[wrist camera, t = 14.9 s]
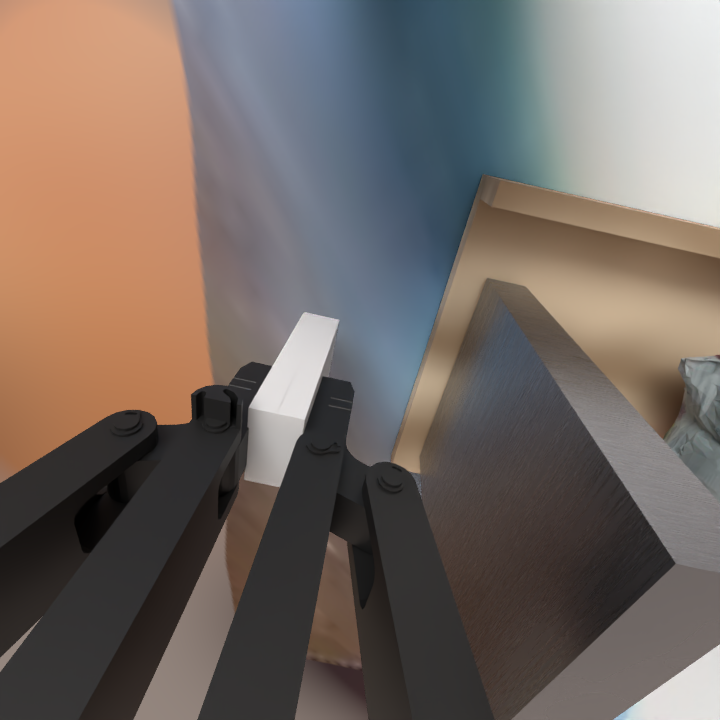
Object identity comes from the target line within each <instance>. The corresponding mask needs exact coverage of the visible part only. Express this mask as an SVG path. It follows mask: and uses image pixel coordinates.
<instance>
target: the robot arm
mask: <svg viewBox="0 0 720 720" xmlns="http://www.w3.org/2000/svg"><path fill="white" fill-rule="evenodd" d="M338 325H339V320H338V319H333V318H329V317H324V316H319V315H315V314H310V313H306V312H304V313H303V315H302V316H301V318H300V320H299V321H298V323H297V325H296V327H295V328H294V330H293V332H292V333H291V335H290V337H289V339H288V340H287V342H286V344H285V346H284V347H283V349H282V351H281V352H280V354H279V356H278V358H277V359H276V361H275V363H274V365H273V366H269V365H264V364H260V363H255V362H251V363H249V364H247V365H245V366H243V367H242V368H240V370H239V371H238V372H237V374H236V375H235V377H234V378H233V379H232V381H231V382H230V384H229V386H223V385H212V386H206V387H203V388H200V389H198V390H196V391H195V392H194V393H192V394H191V403H192V420H191V421H190V422H189V423H187V424H179V425H157V422H156V419H155V417H154V416H153V415H151V414H150V413H148V412H145V411H141V410H126V411H121V412H117V413H114V414H112V415H110V416H108V417H106V418H104V419H103V420H101V421H99V422H98V423H96V424H95V425H93V426H91V427H90V428H88V429H86V430H85V431H83V432H82V433H80V434H78V435H77V436H75V437H74V438H72V439H71V440H69V441H67V442H66V443H64V444H62V445H61V446H59V447H58V448H56V449H55V450H53V451H51V452H50V453H48V454H46V455H45V456H43V457H42V458H40V459H38V460H37V461H35V462H34V463H32V464H30V465H29V466H28V467H26V468H24V469H22V470H21V471H19V472H18V473H16V474H14V475H13V476H11V477H10V478H8V479H7V480H5V481H3V482H2V483H0V657H1V656H2V655H3V654H4V653H5V652H6V651H7V650H8V649H9V648H10V647H11V646H13V644H15V643H16V641H18V640H19V639H20V638H21V637H22V636H23V635H24V634H25V633H26V632H27V631H28V630H29V629H30V628H31V627H32V626H33V625H34V624H35V623H36V622H37V621H38V620H39V619H40V618H41V617H42V616H43V617H42V618H41V619H40V621H39V622H38V623H37V625H36V626H35V627H34V628H33V630H32V631H31V632H30V634H29V635H28V636H27V638H26V639H25V640H24V642H23V643H22V644H21V646H20V647H19V648H18V650H17V651H16V652H15V653H14V655H13V656H12V657H11V659H10V660H9V662H8V663H7V664H6V666H5V667H4V668H3V669H2V671H1V672H0V720H133V719H134V717H135V715H136V712H137V711H138V708H139V706H140V704H141V702H142V700H143V698H144V695H145V693H146V691H147V689H148V687H149V685H150V682H151V680H152V678H153V676H154V674H155V672H156V669H157V667H158V665H159V663H160V661H161V659H162V656H163V654H164V652H165V650H166V648H167V646H168V643H169V641H170V639H171V637H172V635H173V633H174V631H175V628H176V626H177V624H178V622H179V620H180V617H181V615H182V613H183V611H184V609H185V607H186V605H187V602H188V600H189V598H190V596H191V594H192V591H193V589H194V587H195V585H196V583H197V581H198V579H199V577H200V574H201V572H202V570H203V568H204V566H205V563H206V561H207V559H208V557H209V555H210V553H211V551H212V548H213V546H214V544H215V542H216V540H217V538H218V535H219V533H220V531H221V529H222V527H223V525H224V522H225V520H226V518H227V516H228V514H229V512H230V510H231V507H232V505H233V503H234V501H235V499H236V497H237V494H238V489H239V480H240V477H241V475H242V473H243V471H244V469H245V474H244V480H248V481H253V482H257V483H262V484H267V485H272V486H276V487H280V489H279V492H278V494H277V497H276V500H275V503H274V506H273V508H272V511H271V514H270V517H269V520H268V523H267V525H266V528H265V531H264V534H263V537H262V539H261V542H260V545H259V548H258V551H257V553H256V556H255V559H254V562H253V565H252V568H251V570H250V573H249V576H248V579H247V582H246V584H245V587H244V590H243V593H242V596H241V599H240V601H239V604H238V607H237V610H236V613H235V615H234V618H233V621H232V624H231V627H230V629H229V632H228V635H227V638H226V641H225V644H224V647H223V649H222V652H221V655H220V658H219V660H218V663H217V666H216V669H215V672H214V675H213V678H212V680H211V683H210V686H209V689H208V691H207V694H206V697H205V700H204V703H203V705H202V708H201V711H200V714H199V717H198V720H294V719H295V713H296V708H297V703H298V697H299V692H300V687H301V682H302V676H303V671H304V665H305V660H306V655H307V649H308V644H309V639H310V633H311V628H312V623H313V617H314V612H315V606H316V601H317V596H318V590H319V585H320V579H321V574H322V569H323V563H324V558H325V553H326V547H327V542H328V536H329V531H330V532H332V533H333V534H335V535H337V536H339V537H340V538H342V539H344V540H346V541H347V542H348V543H347V546H348V554H349V562H350V570H351V579H352V587H353V595H354V603H355V612H356V620H357V628H358V636H359V645H360V653H361V661H362V670H363V677H364V686H365V694H366V703H367V711H368V719H369V720H495V719H494V716H493V713H492V710H491V707H490V704H489V701H488V698H487V695H486V692H485V689H484V686H483V683H482V680H481V677H480V674H479V671H478V668H477V665H476V662H475V659H474V656H473V653H472V650H471V647H470V644H469V641H468V638H467V635H466V632H465V629H464V626H463V623H462V620H461V617H460V614H459V611H458V608H457V605H456V602H455V599H454V596H453V593H452V590H451V587H450V584H449V581H448V578H447V575H446V572H445V569H444V566H443V563H442V560H441V557H440V554H439V551H438V548H437V545H436V542H435V539H434V536H433V533H432V530H431V527H430V524H429V521H428V518H427V515H426V512H425V509H424V506H423V503H422V500H421V497H420V494H419V491H418V488H417V485H416V482H415V480H414V478H413V476H412V475H411V474H410V473H409V472H408V471H407V470H406V469H405V468H403V467H401V466H399V465H397V464H395V463H390V462H381V463H376V464H375V465H373V466H371V467H369V466H367V465H365V464H363V463H361V462H360V461H358V460H356V459H355V458H354V457H353V456H352V455H351V454H350V452H349V451H348V449H347V446H346V435H347V430H348V424H349V419H350V414H351V408H352V403H353V397H354V389H353V387H352V385H351V383H350V382H347V381H342V380H338V379H333V378H329V374H330V368H331V363H332V358H333V352H334V347H335V342H336V336H337V331H338Z"/></svg>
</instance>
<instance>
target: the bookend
mask: <svg viewBox="0 0 720 720" xmlns="http://www.w3.org/2000/svg"><path fill="white" fill-rule="evenodd" d="M419 458H420V474H421V490H422V503H423V506H424V509H425V512H426V515H427V518H428V521H429V524H430V527H431V530H432V533H433V536H434V539H435V542H436V545H437V548H438V551H439V554H440V557H441V560H442V563H443V566H444V569H445V572H446V575H447V578H448V581H449V584H450V587H451V590H452V593H453V596H454V599H455V602H456V605H457V608H458V611H459V614H460V617H461V620H462V623H463V626H464V629H465V632H466V635H467V638H468V641H469V644H470V647H471V650H472V653H473V656H474V659H475V662H476V665H477V668H478V671H479V674H480V677H481V680H482V683H483V686H484V689H485V692H486V695H487V698H488V701H489V704H490V707H491V710H492V713H493V716H494V719H495V720H613V719H614V718H616V717H617V716H619V715H620V714H621V713H623V712H624V711H626V710H627V709H628V708H630V707H631V706H633V705H634V704H636V703H637V702H638V701H640V700H641V699H643V698H644V697H645V696H647V695H648V694H650V693H651V692H653V691H654V690H655V689H657V688H658V687H660V686H661V685H662V684H664V683H665V682H667V681H668V680H670V679H671V678H672V677H674V676H675V675H677V674H678V673H679V672H681V671H682V670H684V669H685V668H687V667H688V666H689V665H691V664H692V663H694V662H695V661H696V660H698V659H699V658H701V657H702V656H704V655H705V654H706V653H708V652H709V651H711V650H712V649H713V648H715V647H716V646H718V645H719V644H720V503H719V502H718V501H717V499H716V498H715V497H714V496H713V495H712V494H711V493H710V492H709V490H708V489H707V488H706V487H705V486H704V485H703V484H702V483H701V482H700V480H699V479H698V478H697V477H696V476H695V475H694V474H693V473H692V471H691V470H690V469H689V468H688V467H687V466H686V465H685V464H684V463H683V461H682V460H681V459H680V458H679V457H678V456H677V455H676V454H675V453H674V451H673V450H672V449H671V448H670V447H669V446H668V445H667V444H666V442H665V441H664V440H663V439H662V438H661V437H660V436H659V435H658V434H657V432H656V431H655V430H654V429H653V428H652V427H651V426H650V425H649V423H648V422H647V421H646V420H645V419H644V418H643V417H642V416H641V415H640V413H639V412H638V411H637V410H636V409H635V408H634V407H633V406H632V405H631V403H630V402H629V401H628V400H627V399H626V398H625V397H624V396H623V394H622V393H621V392H620V391H619V390H618V389H617V388H616V387H615V386H614V384H613V383H612V382H611V381H610V380H609V379H608V378H607V377H606V376H605V374H604V373H603V372H602V371H601V370H600V369H599V368H598V367H597V365H596V364H595V363H594V362H593V361H592V360H591V359H590V358H589V357H588V355H587V354H586V353H585V352H584V351H583V350H582V349H581V348H580V346H579V345H578V344H577V343H576V342H575V341H574V340H573V339H572V338H571V336H570V335H569V334H568V333H567V332H566V331H565V330H564V329H563V328H562V326H561V325H560V324H559V323H558V322H557V321H556V320H555V319H554V317H553V316H552V315H551V314H550V313H549V312H548V311H547V310H546V309H545V307H544V306H543V305H542V304H541V303H540V302H539V301H538V300H537V298H536V297H535V296H534V295H533V294H532V293H531V292H530V291H529V290H528V288H527V287H526V286H522V285H517V284H513V283H508V282H504V281H499V280H495V279H490V278H487V279H486V282H485V284H484V287H483V290H482V292H481V295H480V298H479V300H478V303H477V306H476V308H475V311H474V313H473V316H472V319H471V321H470V324H469V327H468V329H467V332H466V335H465V337H464V340H463V343H462V345H461V348H460V351H459V353H458V356H457V358H456V361H455V364H454V366H453V369H452V372H451V374H450V377H449V380H448V382H447V385H446V388H445V390H444V393H443V395H442V398H441V401H440V403H439V406H438V409H437V411H436V414H435V417H434V419H433V422H432V425H431V427H430V430H429V433H428V435H427V438H426V440H425V443H424V446H423V448H422V451H421V454H420V456H419Z"/></svg>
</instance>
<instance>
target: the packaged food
mask: <svg viewBox="0 0 720 720" xmlns="http://www.w3.org/2000/svg"><path fill="white" fill-rule="evenodd" d="M678 370H679V372H680V374H681V376H682V378H683V380H684V382H685V386H686V388H685V387H684V391H685V392H684V396H683V402H682V405H681V409H680V412H679V415H678V417H677V419H676V421H675V423H674V424H673V426H672V427H671V428H670V429H669V430H668V431H667V432H666V434H665V436H664V438H663V440H664V441H665V442H666V444H667V445H668V446H669V447H670V448H671V449H672V450H673V451H674V453H675V454H676V455H677V456H678V457H679V458H680V459H681V460H682V461H683V463H684V464H685V465H686V466H687V467H688V468H689V469H690V470H691V471H692V473H693V474H694V475H695V476H696V477H697V478H698V479H699V480H700V482H701V483H702V484H703V485H704V486H705V487H706V488H707V489H708V490H709V492H710V493H711V494H712V495H713V496H714V497H715V498H716V499H717V501H718V502H719V503H720V355H715V356H705V357H687V358H682V359H681V361H680V364H679V367H678Z"/></svg>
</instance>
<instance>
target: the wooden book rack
mask: <svg viewBox="0 0 720 720" xmlns="http://www.w3.org/2000/svg"><path fill="white" fill-rule="evenodd" d="M487 278H490V279H495V280H499V281H504V282H508V283H513V284H517V285H522V286H526V287H527V288H528V290H529V291H530V292H531V293H532V294H533V295H534V296H535V297H536V298H537V300H538V301H539V302H540V303H541V304H542V305H543V306H544V307H545V309H546V310H547V311H548V312H549V313H550V314H551V315H552V316H553V317H554V319H555V320H556V321H557V322H558V323H559V324H560V325H561V326H562V328H563V329H564V330H565V331H566V332H567V333H568V334H569V335H570V336H571V338H572V339H573V340H574V341H575V342H576V343H577V344H578V345H579V346H580V348H581V349H582V350H583V351H584V352H585V353H586V354H587V355H588V357H589V358H590V359H591V360H592V361H593V362H594V363H595V364H596V365H597V367H598V368H599V369H600V370H601V371H602V372H603V373H604V374H605V376H606V377H607V378H608V379H609V380H610V381H611V382H612V383H613V384H614V386H615V387H616V388H617V389H618V390H619V391H620V392H621V393H622V394H623V396H624V397H625V398H626V399H627V400H628V401H629V402H630V403H631V405H632V406H633V407H634V408H635V409H636V410H637V411H638V412H639V413H640V415H641V416H642V417H643V418H644V419H645V420H646V421H647V422H648V423H649V425H650V426H651V427H652V428H653V429H654V430H655V431H656V432H657V434H658V435H659V436H660V437H661V438H662V439H663V438H664V436H665V434H666V432H667V431H668V430H669V429H670V428H671V427H672V426H673V424H674V423H675V421H676V419H677V417H678V415H679V412H680V409H681V405H682V402H683V396H684V392H685V391H684V387H685V388H686V386H685V382H684V380H683V378H682V376H681V374H680V372H679V370H678V367H679V364H680V361H681V359H682V358H687V357H705V356H715V355H720V228H717V227H713V226H708V225H704V224H700V223H695V222H691V221H687V220H682V219H678V218H673V217H669V216H665V215H660V214H656V213H651V212H647V211H643V210H638V209H634V208H630V207H625V206H621V205H616V204H612V203H608V202H603V201H599V200H594V199H590V198H586V197H581V196H577V195H573V194H568V193H564V192H559V191H555V190H551V189H546V188H542V187H537V186H533V185H529V184H524V183H520V182H516V181H511V180H507V179H502V178H498V177H494V176H489V175H485V174H483V175H482V178H481V181H480V184H479V187H478V190H477V193H476V196H475V199H474V203H473V206H472V209H471V212H470V215H469V218H468V221H467V224H466V227H465V230H464V233H463V236H462V239H461V242H460V246H459V249H458V252H457V255H456V258H455V261H454V264H453V267H452V270H451V273H450V276H449V279H448V282H447V285H446V289H445V292H444V295H443V298H442V301H441V304H440V307H439V310H438V313H437V316H436V319H435V322H434V325H433V328H432V332H431V335H430V338H429V341H428V344H427V347H426V350H425V353H424V356H423V359H422V362H421V365H420V368H419V372H418V375H417V378H416V381H415V384H414V387H413V390H412V393H411V396H410V399H409V402H408V405H407V408H406V411H405V415H404V418H403V421H402V424H401V427H400V430H399V433H398V436H397V439H396V442H395V445H394V448H393V451H392V454H391V463H395V464H397V465H399V466H401V467H403V468H405V469H406V470H407V471H410V472H414V473H419V474H420V458H419V456H420V454H421V451H422V448H423V446H424V443H425V440H426V438H427V435H428V433H429V430H430V427H431V425H432V422H433V419H434V417H435V414H436V411H437V409H438V406H439V403H440V401H441V398H442V395H443V393H444V390H445V388H446V385H447V382H448V380H449V377H450V374H451V372H452V369H453V366H454V364H455V361H456V358H457V356H458V353H459V351H460V348H461V345H462V343H463V340H464V337H465V335H466V332H467V329H468V327H469V324H470V321H471V319H472V316H473V313H474V311H475V308H476V306H477V303H478V300H479V298H480V295H481V292H482V290H483V287H484V284H485V282H486V279H487Z"/></svg>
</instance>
